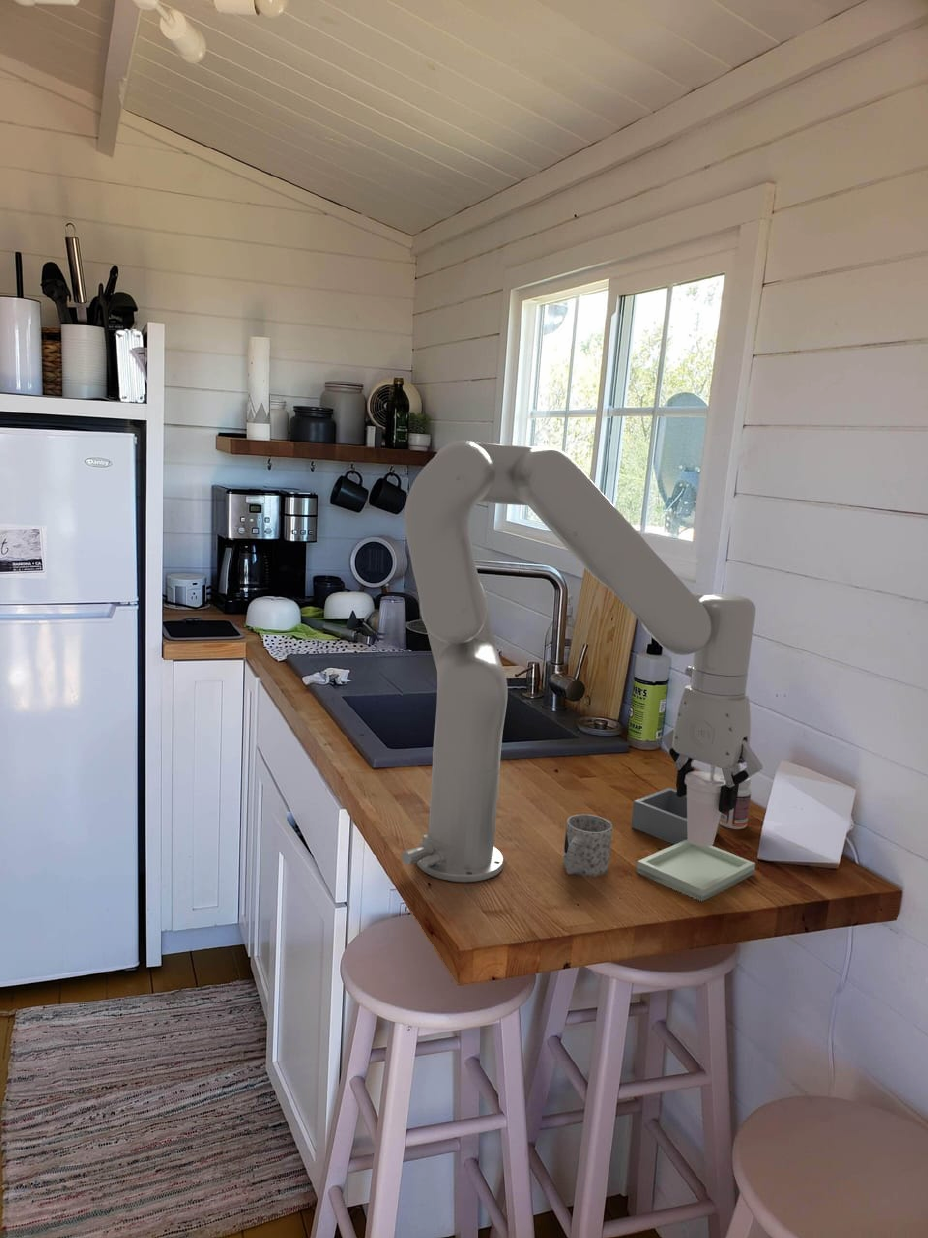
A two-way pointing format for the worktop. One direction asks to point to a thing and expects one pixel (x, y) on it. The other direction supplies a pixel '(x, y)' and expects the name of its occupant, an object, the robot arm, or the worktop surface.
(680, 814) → the grey square tube frame
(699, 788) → the smoothie
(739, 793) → the pill bottle
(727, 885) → the tray
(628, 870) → the worktop surface
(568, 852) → the mug
